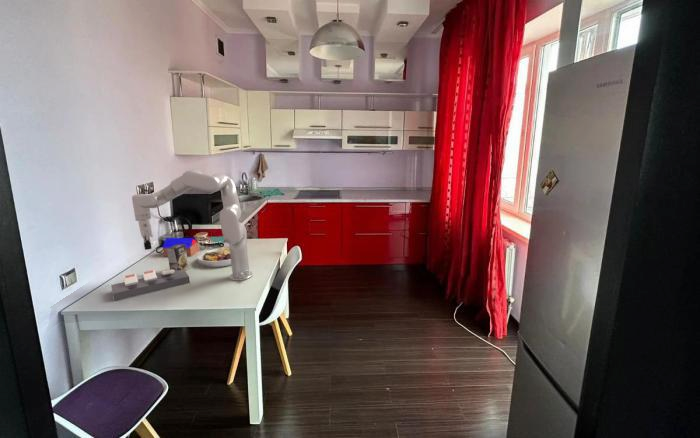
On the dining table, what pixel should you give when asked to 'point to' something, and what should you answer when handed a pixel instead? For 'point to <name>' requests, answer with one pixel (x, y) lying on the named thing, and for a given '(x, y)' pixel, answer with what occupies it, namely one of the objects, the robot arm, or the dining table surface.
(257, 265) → the dining table surface
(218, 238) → the cutlery set
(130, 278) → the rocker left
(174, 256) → the coffee box
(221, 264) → the bowl
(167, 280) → the grey switch panel
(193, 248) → the house
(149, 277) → the rocker middle
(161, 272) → the rocker right
